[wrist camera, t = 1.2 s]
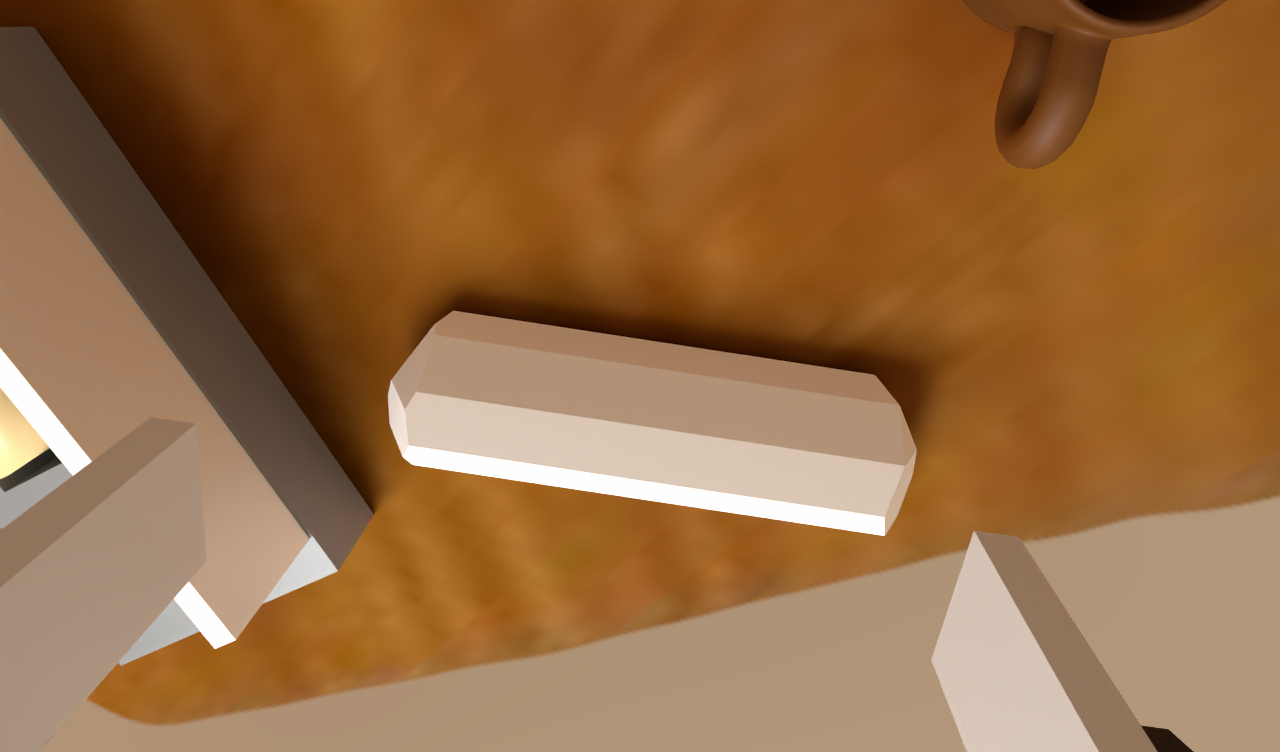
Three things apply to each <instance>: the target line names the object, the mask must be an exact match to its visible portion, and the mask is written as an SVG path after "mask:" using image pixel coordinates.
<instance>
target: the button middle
mask: <svg viewBox="0 0 1280 752" xmlns="http://www.w3.org/2000/svg"><path fill="white" fill-rule="evenodd" d="M49 448H50V447H49V446H48V445H47V444H46V442H45V441H44V440H43V439H42V438H41V436H40V435H39V434H38V433H37V432H36V430H35V429H34V428H33V427H32V425H31V424H30V423H29V422H28V421H27V419H26V418H25V417H24V416H23V414H22V413H21V412H20V411H19V410H18V408H17V407H16V406H15V405H14V404H13V402H12V401H11V400H10V399H9V397H8V396H7V395H6V394H5V393H4V391H3V390H2V389H1V388H0V479H1V478H4V477H6V476H8V475H10V474H11V473H13V472H14V471H16V470H17V469H19V468H20V467H22V466H23V465H25V464H26V463H28V462H29V461H31V460H32V459H34V458H35V457H37V456H38V455H40V454H41V453H43V452H44V451H46V450H47V449H49Z"/></svg>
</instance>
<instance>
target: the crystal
mask: <svg viewBox="0 0 1280 752" xmlns="http://www.w3.org/2000/svg"><path fill="white" fill-rule="evenodd" d="M388 406H389V421H390V426H391V429H392V431H393V434H394V436H395V439H396V441H397V444H398V446H399V449H400V451H401V454H402V456H403V457H404V458H405V459H406V460H407V461H408V462H410V463H411V464H412V465H418V466H424V467H431V468H438V469H444V470H451V471H458V472H464V473H471V474H477V475H484V476H491V477H497V478H504V479H511V480H517V481H524V482H531V483H537V484H544V485H551V486H557V487H564V488H570V489H577V490H584V491H590V492H597V493H604V494H610V495H617V496H624V497H630V498H637V499H644V500H650V501H657V502H663V503H670V504H677V505H683V506H690V507H697V508H703V509H710V510H717V511H723V512H730V513H737V514H743V515H750V516H756V517H763V518H770V519H776V520H783V521H790V522H796V523H803V524H810V525H816V526H823V527H830V528H836V529H843V530H849V531H856V532H863V533H869V534H876V535H883V536H885V535H886V533H887V531H888V530H889V528H890V527H891V525H892V524H893V522H894V520H895V519H896V517H897V515H898V512H899V510H900V507H901V504H902V502H903V499H904V496H905V494H906V491H907V489H908V486H909V483H910V481H911V478H912V475H913V470H914V464H915V458H916V452H917V449H916V446H915V444H914V441H913V439H912V436H911V433H910V431H909V428H908V425H907V423H906V420H905V418H904V415H903V412H902V410H901V407H900V405H899V404H898V403H897V401H896V400H895V399H894V398H893V397H892V395H891V394H890V393H889V392H888V390H887V389H886V388H885V387H884V385H883V384H882V383H881V382H880V381H879V379H878V378H877V377H876V376H875V375H872V374H866V373H859V372H853V371H846V370H840V369H833V368H827V367H820V366H813V365H807V364H800V363H794V362H787V361H781V360H774V359H767V358H761V357H754V356H748V355H741V354H735V353H728V352H722V351H715V350H708V349H702V348H695V347H689V346H682V345H676V344H669V343H663V342H656V341H649V340H643V339H636V338H630V337H623V336H617V335H610V334H603V333H597V332H590V331H584V330H577V329H571V328H564V327H558V326H551V325H544V324H538V323H531V322H525V321H518V320H512V319H505V318H499V317H492V316H485V315H479V314H472V313H466V312H459V311H452V312H451V313H449V314H448V315H447V316H445V317H444V318H443V319H441V320H440V321H438V322H437V323H436V324H434V325H433V327H432V328H431V329H430V331H429V332H428V333H427V334H426V336H425V337H424V338H423V340H422V341H421V342H420V343H419V345H418V346H417V347H416V349H415V350H414V351H413V353H412V354H411V355H410V356H409V358H408V359H407V360H406V362H405V363H404V364H403V365H402V367H401V368H400V369H399V371H398V372H397V373H396V374H395V376H394V377H393V378H392V380H391V384H390V388H389V392H388Z"/></svg>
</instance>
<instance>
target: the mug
mask: <svg viewBox="0 0 1280 752" xmlns="http://www.w3.org/2000/svg"><path fill="white" fill-rule="evenodd" d="M963 1H964V2H965V4H966V5H967V6H968V7H969V8H970V9H971V10H972V11H973V12H974V13H975V14H976V15H977V16H979V17H980V18H981V19H983V20H984V21H985V22H987V23H989V24H991V25H992V26H994V27H996V28H999V29H1002V30H1004V31H1007V32H1011V33H1015V44H1014V49H1013V54H1012V58H1011V62H1010V66H1009V68H1008V71H1007V74H1006V77H1005V80H1004V83H1003V86H1002V89H1001V92H1000V96H999V100H998V104H997V109H996V115H995V135H996V142H997V146H998V149H999V151H1000V153H1001V154H1002V155H1003V157H1004V158H1005V159H1006V160H1007V161H1008V162H1009V163H1010V164H1012V165H1014V166H1016V167H1019V168H1031V169H1036V168H1039V167H1042V166H1045V165H1047V164H1049V163H1051V162H1053V161H1055V160H1056V159H1057V158H1058V157H1059V156H1060V155H1061V154H1062V153H1063V152H1064V151H1065V150H1066V149H1067V148H1068V147H1070V146H1071V144H1072V143H1073V141H1074V139H1075V138H1076V136H1077V135H1078V133H1079V132H1080V130H1081V128H1082V127H1083V125H1084V123H1085V121H1086V119H1087V116H1088V114H1089V112H1090V110H1091V108H1092V106H1093V103H1094V100H1095V97H1096V94H1097V89H1098V85H1099V81H1100V77H1101V73H1102V69H1103V65H1104V61H1105V57H1106V53H1107V50H1108V47H1109V44H1110V41H1111V40H1113V39H1114V38H1124V37H1131V36H1136V35H1141V34H1151V33H1157V32H1162V31H1166V30H1171V29H1174V28H1177V27H1179V26H1182V25H1185V24H1188V23H1190V22H1192V21H1194V20H1196V19H1198V18H1200V17H1202V16H1204V15H1206V14H1207V13H1209V12H1210V11H1212V10H1214V9H1215V8H1217V7H1218V6H1220V5H1221V4H1222V3H1224V2H1225V1H1226V0H963Z"/></svg>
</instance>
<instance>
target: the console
mask: <svg viewBox="0 0 1280 752" xmlns="http://www.w3.org/2000/svg"><path fill="white" fill-rule="evenodd" d="M0 388H1V389H2V390H3V391H4V393H5V394H6V395H7V396H8V397H9V399H10V400H11V401H12V402H13V404H14V405H15V406H16V407H17V408H18V410H19V411H20V412H21V413H22V414H23V416H24V417H25V418H26V419H27V421H28V422H29V423H30V424H31V425H32V427H33V428H34V429H35V430H36V432H37V433H38V434H39V435H40V436H41V438H42V439H43V440H44V441H45V442H46V444H47V445H48V446H49V447H50V448H49V449H47V450H46V451H44V452H43V453H41V454H40V455H38V456H37V457H35V458H34V459H32V460H31V461H29V462H28V463H26V464H25V465H23V466H22V467H20V468H19V469H17V470H16V471H14V472H13V473H11V474H10V475H8V476H6V477H4V478H1V479H0V528H1V529H3V528H4V527H6V526H7V525H8V524H10V523H11V522H12V521H14V520H15V519H16V518H18V517H19V516H20V515H22V514H23V513H24V512H26V511H27V510H28V509H30V508H31V507H32V506H34V505H35V504H36V503H37V502H39V501H40V500H41V499H43V498H44V497H45V496H47V495H48V494H49V493H51V492H52V491H53V490H55V489H56V488H57V487H59V486H60V485H61V484H63V483H64V482H65V481H67V480H68V479H69V478H71V477H72V476H73V475H75V474H76V473H77V472H79V471H80V470H81V469H83V468H84V467H85V466H87V465H88V464H89V463H91V462H92V461H93V460H95V459H96V458H97V457H99V456H100V455H101V454H103V453H104V452H105V451H106V450H108V449H109V448H110V447H112V446H113V445H114V444H116V443H117V442H118V441H120V440H121V439H122V438H124V437H125V436H126V435H128V434H129V433H130V432H132V431H133V430H134V429H136V428H137V427H138V426H140V425H141V424H142V423H144V422H145V421H146V420H148V419H149V418H150V417H152V418H159V419H167V420H174V421H181V422H188V423H196V427H197V440H198V453H199V467H200V480H201V493H202V506H203V519H204V533H205V546H206V559H207V561H206V562H205V564H204V565H203V566H202V567H201V568H200V569H199V570H198V572H197V573H196V574H195V575H194V576H193V577H192V578H191V580H190V581H189V582H188V583H187V584H186V585H185V586H184V588H183V589H182V590H181V591H180V592H179V593H178V594H177V596H176V597H175V598H174V599H173V600H172V601H171V602H170V604H169V605H168V606H167V607H166V608H165V609H164V610H163V612H162V613H161V614H160V615H159V616H158V617H157V619H156V620H155V621H154V622H153V623H152V624H151V625H150V627H149V628H148V629H147V630H146V631H145V632H144V633H143V635H142V636H141V637H140V638H139V639H138V640H137V641H136V643H135V644H134V645H133V646H132V647H131V648H130V649H129V651H128V652H127V653H126V654H125V655H124V656H123V657H122V659H121V660H120V661H119V662H118V663H119V664H120V665H123V664H126V663H128V662H130V661H133V660H135V659H137V658H139V657H142V656H144V655H146V654H149V653H151V652H153V651H156V650H158V649H160V648H162V647H165V646H167V645H169V644H172V643H174V642H176V641H178V640H181V639H183V638H185V637H188V636H190V635H192V634H195V633H197V632H199V631H201V633H202V634H203V635H204V636H205V637H206V639H207V640H208V641H209V642H210V644H211V645H212V646H213V647H214V648H215V649H216V648H218V647H221V646H223V645H225V644H228V643H230V642H232V641H235V640H236V639H237V638H238V636H239V635H240V634H241V632H242V631H243V629H244V628H245V627H246V625H247V624H248V623H249V621H250V620H251V619H252V617H253V616H254V614H255V613H256V612H257V610H258V609H259V608H260V606H261V605H262V604H263V603H266V602H268V601H270V600H273V599H275V598H277V597H279V596H282V595H284V594H286V593H289V592H291V591H293V590H296V589H298V588H300V587H302V586H305V585H307V584H309V583H312V582H314V581H316V580H318V579H321V578H323V577H325V576H328V575H330V574H332V573H335V572H337V571H338V570H339V569H340V567H341V566H342V564H343V562H344V561H345V559H346V558H347V556H348V555H349V553H350V551H351V550H352V548H353V547H354V545H355V543H356V542H357V540H358V539H359V537H360V536H361V534H362V532H363V531H364V529H365V528H366V526H367V525H368V523H369V521H370V520H371V518H372V517H373V515H374V514H373V512H372V511H371V509H370V508H369V506H368V505H367V504H366V502H365V501H364V499H363V498H362V496H361V495H360V493H359V492H358V491H357V489H356V488H355V486H354V485H353V483H352V482H351V481H350V479H349V478H348V476H347V475H346V473H345V472H344V471H343V469H342V468H341V466H340V465H339V463H338V462H337V460H336V459H335V458H334V456H333V455H332V453H331V452H330V450H329V449H328V448H327V446H326V445H325V443H324V442H323V440H322V439H321V438H320V436H319V435H318V433H317V432H316V430H315V429H314V427H313V426H312V425H311V423H310V422H309V420H308V419H307V417H306V416H305V415H304V413H303V412H302V410H301V409H300V407H299V406H298V404H297V403H296V402H295V400H294V399H293V397H292V396H291V394H290V393H289V392H288V390H287V389H286V387H285V386H284V384H283V383H282V382H281V380H280V379H279V377H278V376H277V374H276V373H275V371H274V370H273V369H272V367H271V366H270V364H269V363H268V361H267V360H266V359H265V357H264V356H263V354H262V353H261V351H260V350H259V349H258V347H257V346H256V344H255V343H254V341H253V340H252V338H251V337H250V336H249V334H248V333H247V331H246V330H245V328H244V327H243V326H242V324H241V323H240V321H239V320H238V318H237V317H236V315H235V314H234V313H233V311H232V310H231V308H230V307H229V305H228V304H227V303H226V301H225V300H224V298H223V297H222V295H221V294H220V293H219V291H218V290H217V288H216V287H215V285H214V284H213V282H212V281H211V280H210V278H209V277H208V275H207V274H206V272H205V271H204V270H203V268H202V267H201V265H200V264H199V262H198V261H197V260H196V258H195V257H194V255H193V254H192V252H191V251H190V249H189V248H188V247H187V245H186V244H185V242H184V241H183V239H182V238H181V237H180V235H179V234H178V232H177V231H176V229H175V228H174V226H173V225H172V224H171V222H170V221H169V219H168V218H167V216H166V215H165V214H164V212H163V211H162V209H161V208H160V206H159V205H158V204H157V202H156V201H155V199H154V198H153V196H152V195H151V193H150V192H149V191H148V189H147V188H146V186H145V185H144V183H143V182H142V181H141V179H140V178H139V176H138V175H137V173H136V172H135V171H134V169H133V168H132V166H131V165H130V163H129V162H128V160H127V159H126V158H125V156H124V155H123V153H122V152H121V150H120V149H119V148H118V146H117V145H116V143H115V142H114V140H113V139H112V138H111V136H110V135H109V133H108V132H107V130H106V129H105V127H104V126H103V125H102V123H101V122H100V120H99V119H98V117H97V116H96V115H95V113H94V112H93V110H92V109H91V107H90V106H89V104H88V103H87V102H86V100H85V99H84V97H83V96H82V94H81V93H80V92H79V90H78V89H77V87H76V86H75V84H74V83H73V82H72V80H71V79H70V77H69V76H68V74H67V73H66V71H65V70H64V69H63V67H62V66H61V64H60V63H59V61H58V60H57V59H56V57H55V56H54V54H53V53H52V51H51V50H50V49H49V47H48V46H47V44H46V43H45V41H44V40H43V38H42V37H41V36H40V34H39V33H38V31H37V30H36V28H35V27H0Z"/></svg>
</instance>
